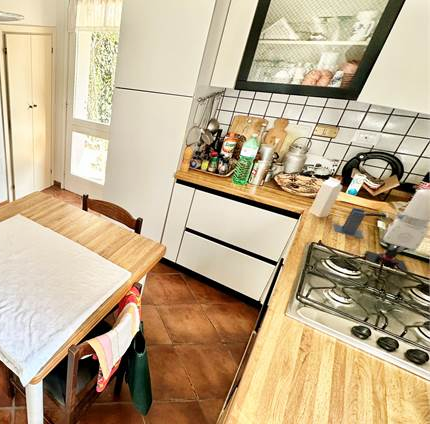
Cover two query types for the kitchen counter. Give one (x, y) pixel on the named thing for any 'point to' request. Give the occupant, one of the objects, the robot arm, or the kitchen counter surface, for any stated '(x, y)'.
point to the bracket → (352, 224)
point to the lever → (378, 215)
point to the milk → (326, 197)
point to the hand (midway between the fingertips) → (388, 257)
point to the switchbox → (385, 260)
